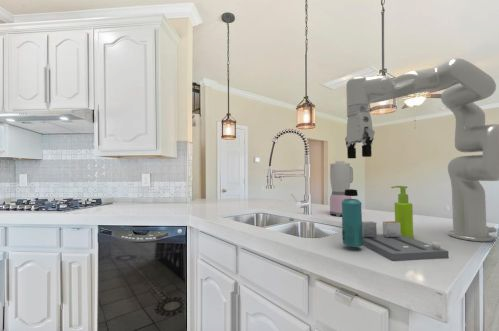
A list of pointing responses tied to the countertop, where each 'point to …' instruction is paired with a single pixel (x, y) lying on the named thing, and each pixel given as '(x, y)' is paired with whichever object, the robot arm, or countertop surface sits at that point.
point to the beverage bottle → (352, 220)
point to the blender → (339, 185)
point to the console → (404, 248)
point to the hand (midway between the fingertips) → (358, 157)
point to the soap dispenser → (404, 213)
